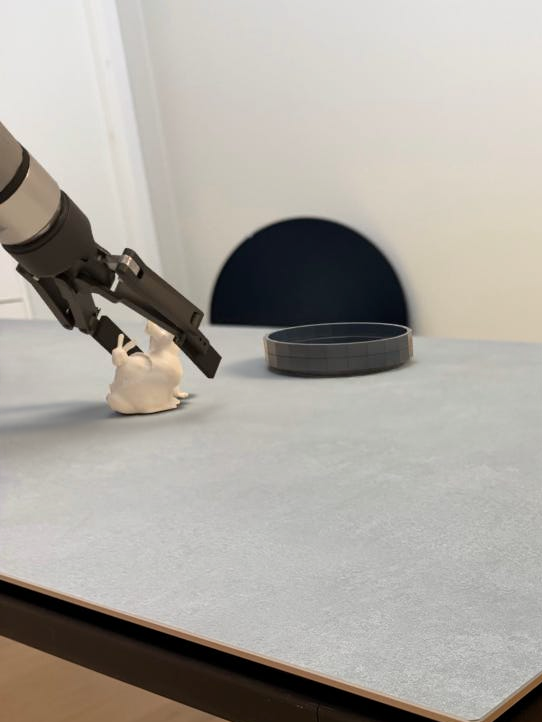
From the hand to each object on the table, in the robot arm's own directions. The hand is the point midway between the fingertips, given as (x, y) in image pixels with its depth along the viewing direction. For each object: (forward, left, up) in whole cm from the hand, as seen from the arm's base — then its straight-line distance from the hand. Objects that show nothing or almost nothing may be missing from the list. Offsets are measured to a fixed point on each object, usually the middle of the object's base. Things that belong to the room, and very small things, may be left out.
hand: (175, 365), depth 105 cm
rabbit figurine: (0, -3, -4) cm, 5 cm away
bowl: (+5, +26, -4) cm, 27 cm away
